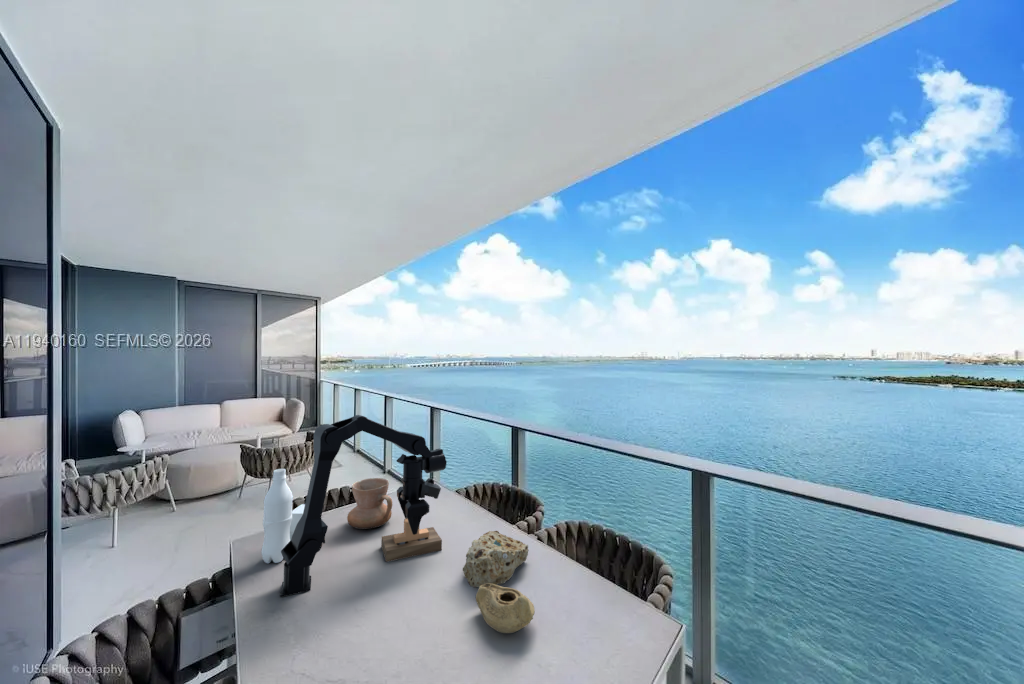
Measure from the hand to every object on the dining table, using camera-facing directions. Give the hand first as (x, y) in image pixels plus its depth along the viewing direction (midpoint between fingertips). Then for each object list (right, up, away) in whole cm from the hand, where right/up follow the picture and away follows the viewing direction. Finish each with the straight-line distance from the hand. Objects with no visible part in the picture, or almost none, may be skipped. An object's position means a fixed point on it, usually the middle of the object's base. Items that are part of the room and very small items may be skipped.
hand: (411, 528), depth 116 cm
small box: (-35, -6, +3) cm, 36 cm away
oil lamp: (+28, -5, -33) cm, 44 cm away
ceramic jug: (-18, -7, +16) cm, 26 cm away
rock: (+26, -6, -12) cm, 29 cm away
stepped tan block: (0, -6, 0) cm, 6 cm away
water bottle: (-37, -6, -7) cm, 38 cm away
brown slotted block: (0, -6, 0) cm, 6 cm away
